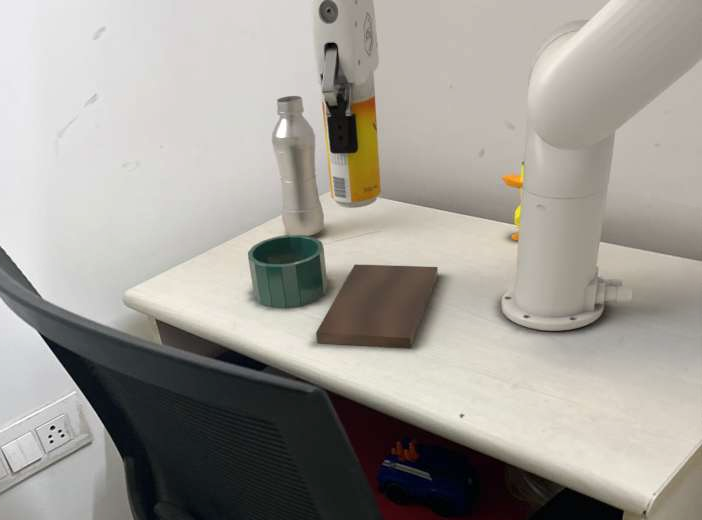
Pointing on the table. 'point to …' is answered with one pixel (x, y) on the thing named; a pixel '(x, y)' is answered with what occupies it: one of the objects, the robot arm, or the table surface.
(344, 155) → the beer can
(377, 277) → the board
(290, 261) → the crock
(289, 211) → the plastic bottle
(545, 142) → the robot arm
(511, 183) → the toy figure
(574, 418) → the table surface
